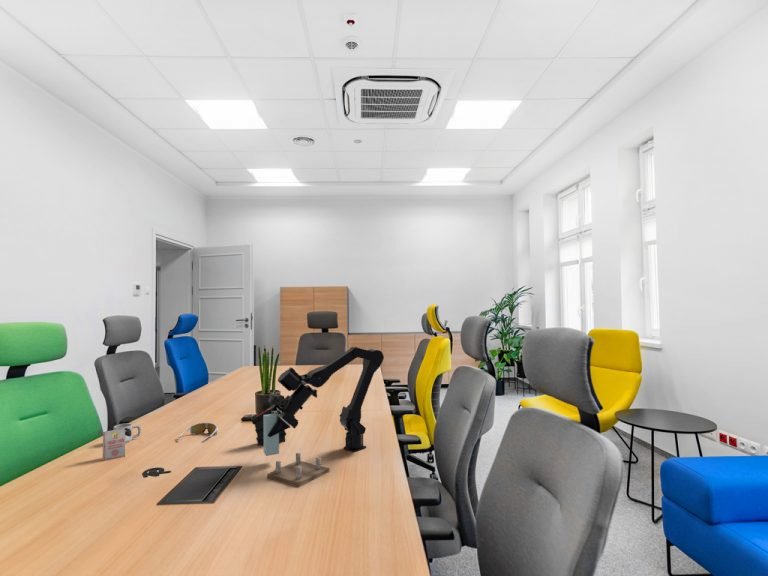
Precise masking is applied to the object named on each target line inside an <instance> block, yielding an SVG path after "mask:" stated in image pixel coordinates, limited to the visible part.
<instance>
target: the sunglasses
mask: <svg viewBox="0 0 768 576" xmlns="http://www.w3.org/2000/svg"><path fill="white" fill-rule="evenodd" d="M218 428H219V427H218V425H217V424H216V423H214V422H210V421H203V422H201V421H200V422H198V423H196V424H192V425H191V426H189V427H188V428H186V429H184V431H182V432H181V434H180V435H179V436H178V439H177V444H178V443H179V442H180V438H181V437H182V436H183V434H184V433H186V432H190V435H191V434H192V435H196V433H198V434H204V433H205V432H206V430H207V433H208V434H210V435H209V436H207V437H206V438H204V439H203V440H202V441H201V442H200V444H202V443H204V442H206V441H207V440H208V439H210V438H211V437H213V435H215V436H217V435H218Z"/></svg>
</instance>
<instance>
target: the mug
mask: <svg viewBox="0 0 768 576" xmlns="http://www.w3.org/2000/svg"><path fill="white" fill-rule="evenodd" d="M124 428H125V444H127V443H130V441H131V442H132V441H133V439H135V438H139V436H141V433H142V428H141V425H139V424H132V423H120V424H116V425H114V426H113V430H118V429H124ZM133 429H137V431H138V432H137V433H136V434H133Z"/></svg>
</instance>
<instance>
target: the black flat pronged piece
mask: <svg viewBox="0 0 768 576" xmlns="http://www.w3.org/2000/svg"><path fill="white" fill-rule="evenodd" d="M171 473H172V471H171V470H165V468H164V467H156V466H155V467H152V468H151V467H150V468H148V469H145V470H144V471H143V473H142V474H143V475H142V476H143V478H148V476H150V477H160V475H164V474H171Z"/></svg>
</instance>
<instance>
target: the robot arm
mask: <svg viewBox="0 0 768 576" xmlns="http://www.w3.org/2000/svg"><path fill="white" fill-rule="evenodd" d="M357 358H360V359H363V360H362V370H361V374H360V376H359V378H358V382H357V383H356V387H355V389H354V391H353V394H352V398H351V400H350V402H349V404H348V405H347V406H343V407H342V409H341V412H340V414H339V422H340V425H341V426H342V427H343V428H344V430H345V431H346V432H345V438H344V439H345V441H344V442H345V445H344V446H343V449H345V450H347V451H351V452H358V451H360V450H363V449H366V448H367V446H366V445H364V434H365V433H366V430H367V428H366V427H365V426H364V425H363V424H362V423H361V420H362V406H363V404H364V401H365V399H366V396H367V393H368V390H369V388H370V385H371V382H372V379H373V378H374V377H373V376H374V374H375V373H376V372H377V370H379V368H380V367H381V365H382V363H383V362H384V359H385V355H384V354H383V352H382V351H381V350H378V349H373V348H369V349H364V348H360V347H358V346H351V347H350V348H349V349H348V350H346V351H344V352H343V353H341V354H340V355H338V356H336V357H335V358H334V359H332V360H331V361H329V362H328V363H326V364H324V365H321V366H318V367H316V368H314V369H311V370H309V371H308V372H307V373H305V374H301V375H300V374H299V373H297V371H296V370H295V369H294V368H293V367H292V366H290V367H289V368H287V369H286V370H285V371H284V372H282V373H281V374H280V375H279V376H278V378H277V382H278V383H279V384H281V385H282V386H283V388H285V389H286V390H287V391H288V392H291V391H292V393H291V395H287V396H285V395H282V394H278V395H277V394H276V393H270V395H269V398H268V400H267V402H268V403H269V404H270V405H271V407H270V406H269V407H270V408H272V409H273V410H274V411H271V412H272V414H277V415H278V416H277V421H276V423H275V425H274V426H273V428H272V429H271V431H270V432H269V434H268V436H269V437H271V436H273V435H275V434H277V433H279V432H281V431H283V430H285V431H286V430H288V429H291V428H293V429H296V428H297V426H298V425H299V420H298V419H297V418H296V416H295V415H296V414H297V413H298V412H299V410H303V408H304V407H303V405H304V404H305V403H306V402H307V401H308V400H309V399H310V397H311V396H312V397H314V398H318V388H320V387H322V386H324V384H326V383H327V382H328V381H329V380H330V378H331V377H332V376H333V374H335V373H336V372H338V371H339V370H341V369H342V368H344V367H345V366H347V365H348V364H350V363H351V362H352V361H354V360H355V359H357ZM304 383H305V384H306V385H305V384H304ZM311 386H312V387H313V388H314V389H313V388H312V387H311ZM316 388H317V389H316Z"/></svg>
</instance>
